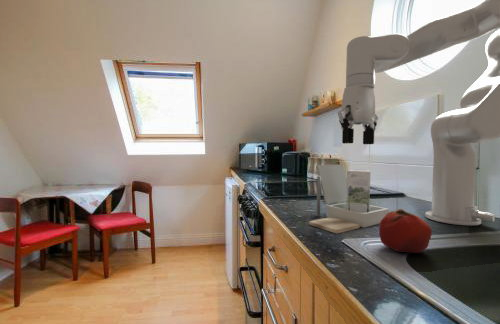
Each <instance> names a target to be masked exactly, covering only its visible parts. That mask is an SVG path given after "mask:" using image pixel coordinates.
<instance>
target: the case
mask: <svg viewBox="0 0 500 324" xmlns="http://www.w3.org/2000/svg"><path fill="white" fill-rule="evenodd" d="M321 189H322V187H321V177H319V176H317V177H316V217H321ZM389 212H390V208H387V207H381V206H376V205H371V204H369V212H366V213H360V212H356V211H351V210H347V209H346V202H339V203H333V204H331V205H330V204H327V205H326V218H329V217H333V218H337V219H341V220H344V221H348V222H352V223H355V224H359V225H360V227H361V228H367V227H368V228H369V227H372V226H375V225H380V222H381V220H382V219H383V218H384V216H385V215H386V214H387V213H389Z"/></svg>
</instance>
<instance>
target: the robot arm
mask: <svg viewBox="0 0 500 324" xmlns="http://www.w3.org/2000/svg"><path fill="white" fill-rule="evenodd" d="M496 29H498V30H496ZM494 30H496V31H495V32H494V33H492V34H491V35H490V36H489V38H488V39H487V41H486V43H485V49H484V50H485V54H486V58H487V62H488V65H487V68H486V70H485V71H484V72H483V73H482V75H480V77H479V78H478V79H477V80H476V81H474V83H473V84H471V86H470V87H469V88H468V89H467V90H466V91H465V92H464V93H463V95H462V97H461V99H460V104H459V105H460V108H459V109H454V110H450V111H447V112H444V113H441V114H440V115H438V116H437V117H436V118H434V120H433V121H432V123H431V126H430V137H431V140H432V141H431V142H432V149H433V163H432V164H433V166H432V170H433V171H432V189H431V191H432V195H431V210H429V211H426V212H424V213H425V214H424V216H425V218H427V219H428V220H429V219H430V220H432V221H435V222H440V223H444V224H449V225H450V224H451V225H456V226H471V227H472V226H479V225H481V224H482V220H484V221H488V222H495V220H496V219H495V218H496V215H495V214H494V213H491V212H488V211H480V210H479V206H478V205H477V206H476V205H475V197H476V196H475V193H476V172H477V171H476V168H477V157H476V153H475V150H474V148H473V147H472V144H480V143H481V144H482V143H490V142H493V141H495V140H497V139H498V138H500V0H480V1H478V3H476V4H475V5H472V6H469V8H465V9H462V10H460V11H458V12H454V13H451V14H448V15H444V16H443V17H440V18H436V19H433V20H432V21H429V22H428V23H426V24H424V25H422V26H421V27H419V28H418V29H416V30H415V31H413V32H412V33H410V34H408V35H407V36H406V35H404V34H401V33H389V34H385V35H379V36H369V35H362V36H357V37H354V38H353V39H351V40H349V42H348V43H347V46H346V67H345V88H344V89H343V94H342V100H341V108H340V110H339V111H338V112H337V117H338V119H339V120H338V121H339V123H340V124H339V125H340V129H341V131H342V135H341V136H342V137H341V138H342V140H341V141H342V142H341V143H342V144H344V145H345V144H353V143H354V134H355V130H354V128H353V126H354V125H356V126H357V125H362V127H363V129H364V130H363V131H362V144H363V145H374V144H375V131H376V127H377V123H378V121H379V116H378V115H377V114H376V98H375V97H376V96H375V82H376V74H379V73H383V72H386V71H389V70H393V69H395V68H398V67H400V66H403V65H406V64H409V63H412V62H414V61H418V60H419V59H421V58H422V59H423V58H425V57H427V56H431V55H433V54H435V53H438V52H441V51H444V50H447V49H448V48H449V49H450V48H451V47H455V46H457V45H461V44H464V43H467V42H470V41H472V40H476V39H478V38H481V37H483V36H485V35H487V34H488V33H491V32H493V31H494Z"/></svg>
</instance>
